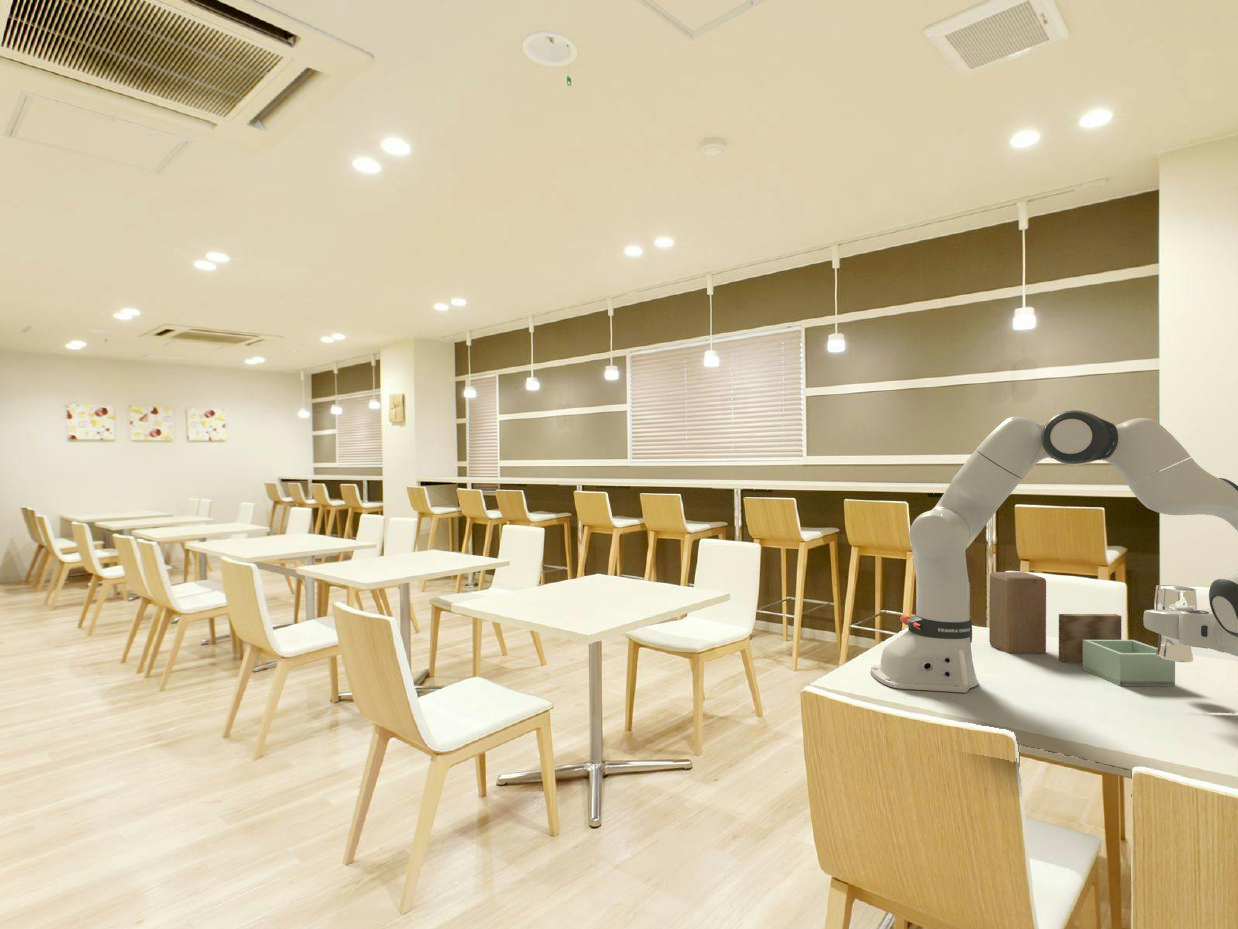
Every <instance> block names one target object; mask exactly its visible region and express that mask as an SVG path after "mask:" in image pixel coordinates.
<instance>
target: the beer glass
mask: <svg viewBox="0 0 1238 929" xmlns="http://www.w3.org/2000/svg"><path fill="white" fill-rule="evenodd" d="M1197 601H1198V600H1197V589H1196V588H1193V587H1190V586H1189V587H1188V586H1181V585H1171V584H1159V585H1158V584H1157V585H1155V594H1154V609H1153V610H1172V611H1196V610H1198V602H1197ZM1156 648H1157V652H1156V656H1157V657H1159V658H1162V659H1165V660H1170V661H1175V663H1177V662H1178V663H1192V662H1194V657H1193V656H1194V655H1193V651H1192V646H1186V645H1183V644H1181V643H1180V642H1179V640H1178V639H1173V638H1169V637H1166V636H1163V635H1161V634H1158V645H1157V647H1156Z"/></svg>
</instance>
